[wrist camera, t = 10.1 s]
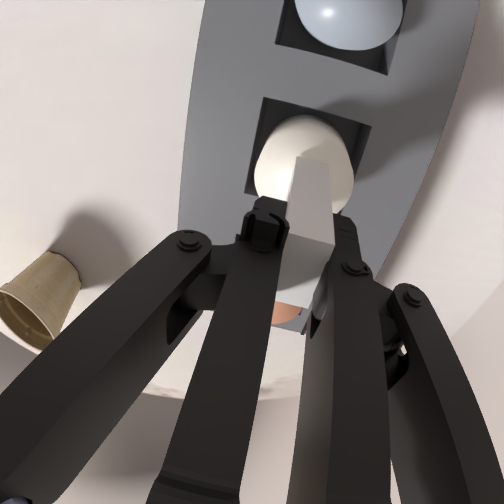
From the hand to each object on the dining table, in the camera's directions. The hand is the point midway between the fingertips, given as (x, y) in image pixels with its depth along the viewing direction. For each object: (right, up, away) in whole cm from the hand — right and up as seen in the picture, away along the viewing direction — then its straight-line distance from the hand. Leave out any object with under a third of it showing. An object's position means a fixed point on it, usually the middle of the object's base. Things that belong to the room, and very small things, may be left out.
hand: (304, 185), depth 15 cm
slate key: (+2, +10, -2) cm, 10 cm away
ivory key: (+1, +3, +3) cm, 4 cm away
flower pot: (-25, -5, +19) cm, 31 cm away
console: (+1, +4, +6) cm, 7 cm away
